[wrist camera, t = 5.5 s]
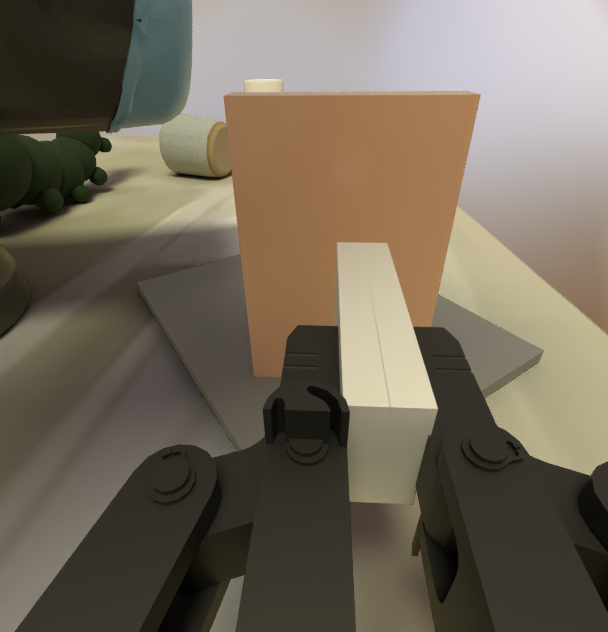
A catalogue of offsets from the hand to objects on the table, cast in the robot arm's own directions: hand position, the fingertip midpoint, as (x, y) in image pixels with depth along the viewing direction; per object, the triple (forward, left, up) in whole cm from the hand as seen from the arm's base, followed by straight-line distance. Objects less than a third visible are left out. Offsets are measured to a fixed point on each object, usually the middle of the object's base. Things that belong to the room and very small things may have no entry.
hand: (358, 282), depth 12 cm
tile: (-3, +2, -7) cm, 8 cm away
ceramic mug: (-48, +13, -8) cm, 51 cm away
